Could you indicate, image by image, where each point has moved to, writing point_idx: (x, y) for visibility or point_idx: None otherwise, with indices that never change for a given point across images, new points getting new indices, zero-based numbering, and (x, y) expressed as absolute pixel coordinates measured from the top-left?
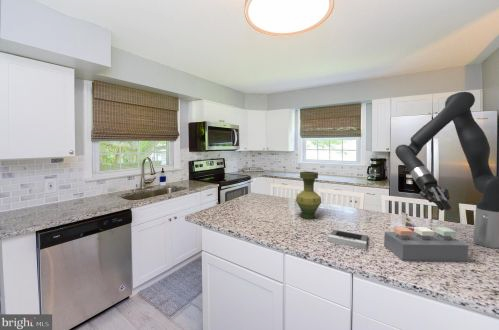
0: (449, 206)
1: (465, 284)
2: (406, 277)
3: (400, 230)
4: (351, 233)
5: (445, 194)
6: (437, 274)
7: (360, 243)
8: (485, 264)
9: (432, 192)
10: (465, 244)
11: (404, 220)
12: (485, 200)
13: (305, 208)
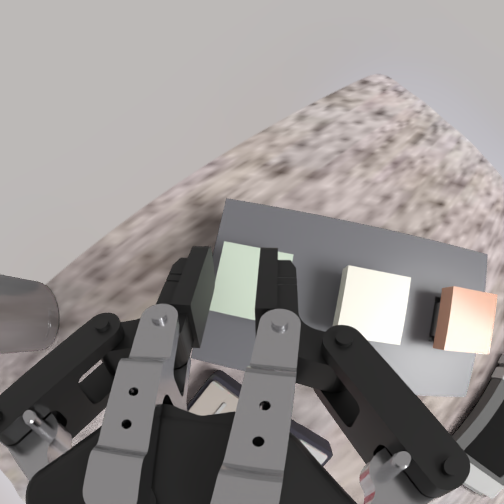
0: (201, 253)
1: (375, 125)
2: (489, 184)
3: (494, 302)
4: (480, 464)
5: (70, 383)
6: (410, 174)
7: None
8: (193, 195)
9: (286, 450)
10: (230, 206)
11: None
12: None
13: None
